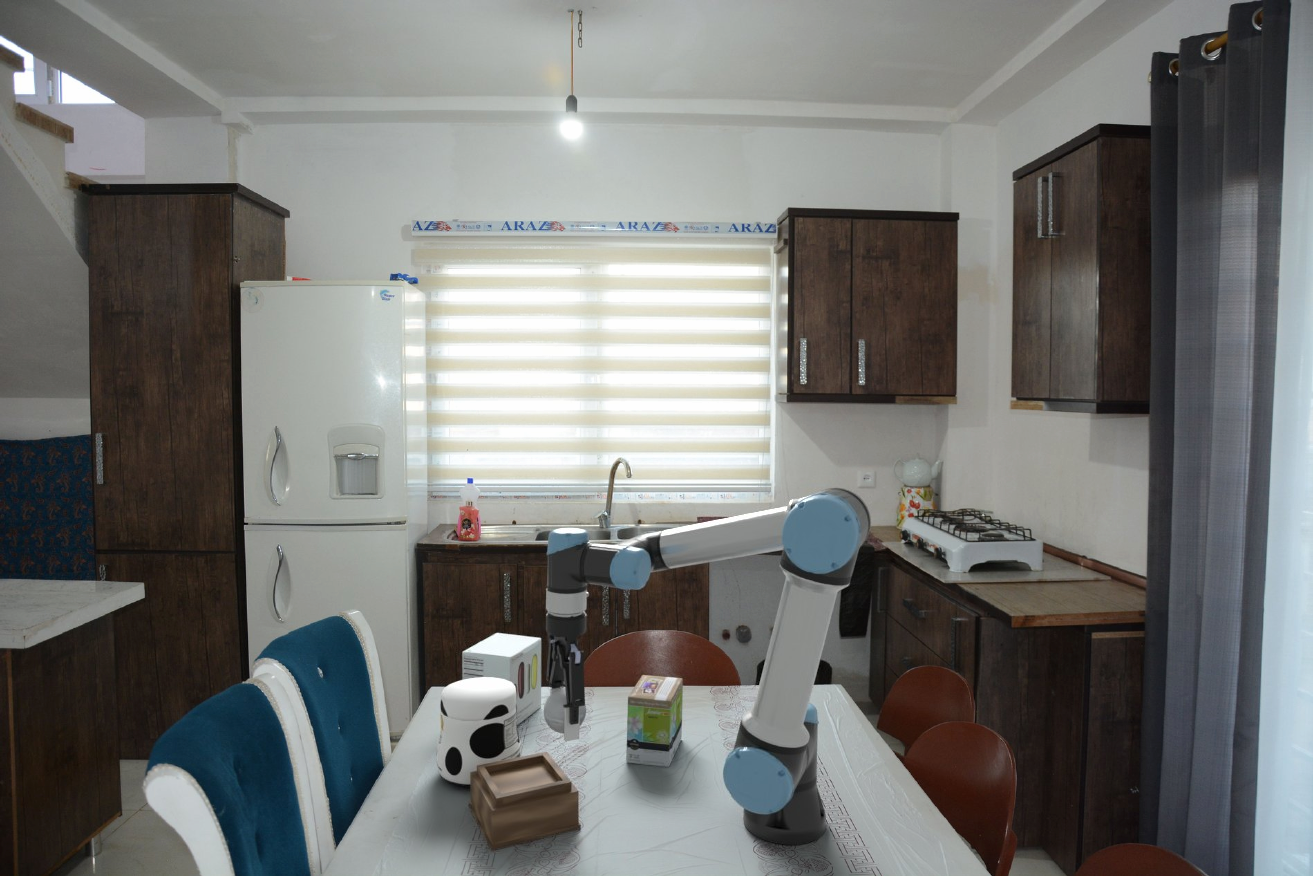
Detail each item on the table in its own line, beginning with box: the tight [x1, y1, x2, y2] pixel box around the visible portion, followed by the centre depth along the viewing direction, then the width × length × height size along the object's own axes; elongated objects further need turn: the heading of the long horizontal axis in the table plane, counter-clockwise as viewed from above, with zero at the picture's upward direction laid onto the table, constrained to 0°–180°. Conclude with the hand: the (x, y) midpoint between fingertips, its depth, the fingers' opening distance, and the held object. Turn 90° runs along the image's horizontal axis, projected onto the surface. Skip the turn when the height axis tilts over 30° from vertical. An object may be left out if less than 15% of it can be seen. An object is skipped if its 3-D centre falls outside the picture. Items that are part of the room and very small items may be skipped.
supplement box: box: [461, 632, 542, 726], centre depth 200 cm, size 17×13×18 cm
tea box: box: [625, 674, 684, 768], centre depth 181 cm, size 15×10×15 cm
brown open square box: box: [468, 751, 582, 852], centre depth 152 cm, size 17×17×8 cm
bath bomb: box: [543, 689, 587, 734], centre depth 153 cm, size 8×8×8 cm
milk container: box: [435, 677, 522, 787], centre depth 169 cm, size 17×17×18 cm
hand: (564, 730), depth 153 cm, fingers closed on bath bomb, 8 cm apart
